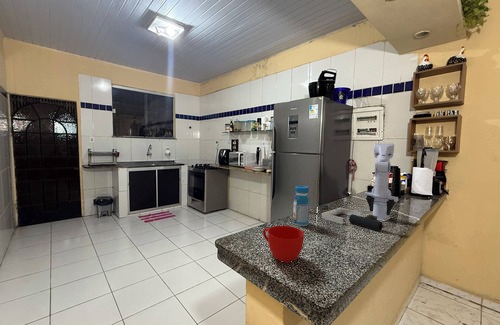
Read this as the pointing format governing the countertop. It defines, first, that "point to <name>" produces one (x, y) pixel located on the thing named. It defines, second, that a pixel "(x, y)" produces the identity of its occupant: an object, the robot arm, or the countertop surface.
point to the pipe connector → (366, 222)
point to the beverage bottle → (301, 206)
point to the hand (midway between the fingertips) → (379, 212)
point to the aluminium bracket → (330, 214)
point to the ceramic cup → (284, 242)
